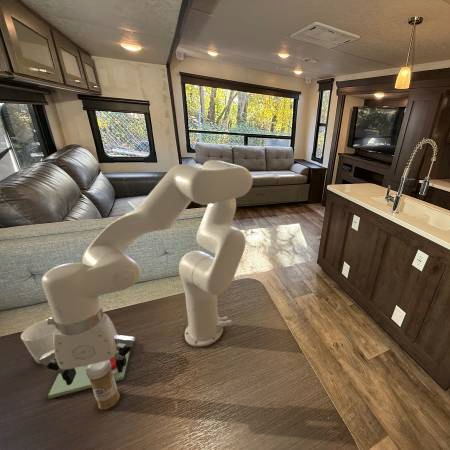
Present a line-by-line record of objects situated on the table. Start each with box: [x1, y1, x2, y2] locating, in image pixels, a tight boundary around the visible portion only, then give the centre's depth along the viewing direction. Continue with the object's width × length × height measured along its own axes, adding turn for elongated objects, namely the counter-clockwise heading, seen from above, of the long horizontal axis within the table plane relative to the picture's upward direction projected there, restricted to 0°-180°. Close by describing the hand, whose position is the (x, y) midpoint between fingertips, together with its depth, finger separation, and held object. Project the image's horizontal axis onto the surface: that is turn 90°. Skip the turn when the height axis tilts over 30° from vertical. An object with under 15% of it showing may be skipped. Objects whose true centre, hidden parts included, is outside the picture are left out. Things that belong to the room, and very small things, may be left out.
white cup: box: [20, 319, 56, 365], centre depth 72 cm, size 8×8×10 cm
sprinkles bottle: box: [86, 360, 121, 411], centre depth 61 cm, size 5×5×14 cm
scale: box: [47, 343, 131, 399], centre depth 71 cm, size 16×13×3 cm
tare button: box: [110, 358, 117, 371], centre depth 69 cm, size 3×3×2 cm
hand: (97, 373), depth 59 cm, fingers open, 9 cm apart
